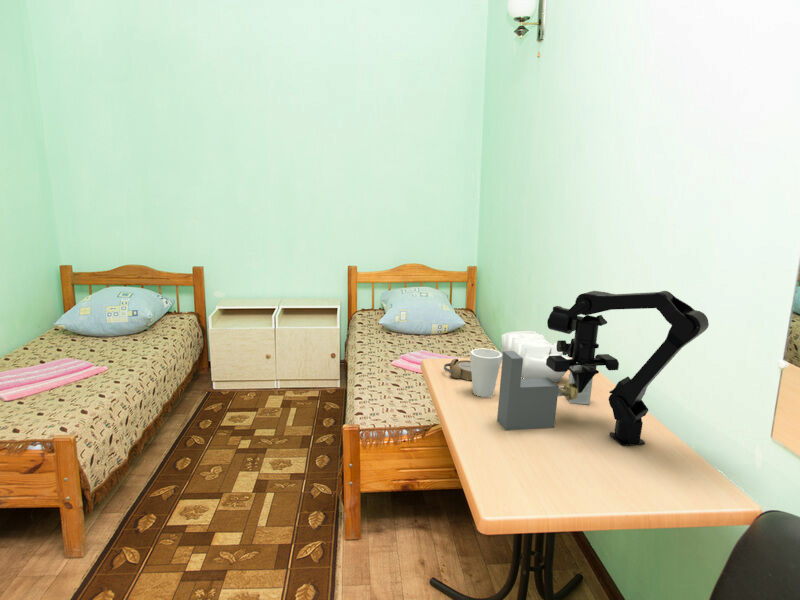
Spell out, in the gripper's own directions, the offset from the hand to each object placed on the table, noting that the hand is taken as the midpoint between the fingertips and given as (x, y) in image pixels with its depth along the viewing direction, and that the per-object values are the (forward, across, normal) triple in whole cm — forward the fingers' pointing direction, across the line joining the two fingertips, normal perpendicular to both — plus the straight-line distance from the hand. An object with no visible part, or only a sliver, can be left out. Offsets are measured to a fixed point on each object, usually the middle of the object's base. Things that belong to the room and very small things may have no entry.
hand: (578, 392), depth 155 cm
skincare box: (+9, -8, -13) cm, 18 cm away
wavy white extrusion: (+9, -6, -43) cm, 44 cm away
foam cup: (+9, +19, -22) cm, 30 cm away
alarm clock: (+9, +20, -38) cm, 43 cm away
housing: (+8, +15, 0) cm, 17 cm away
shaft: (+2, +8, 0) cm, 8 cm away
